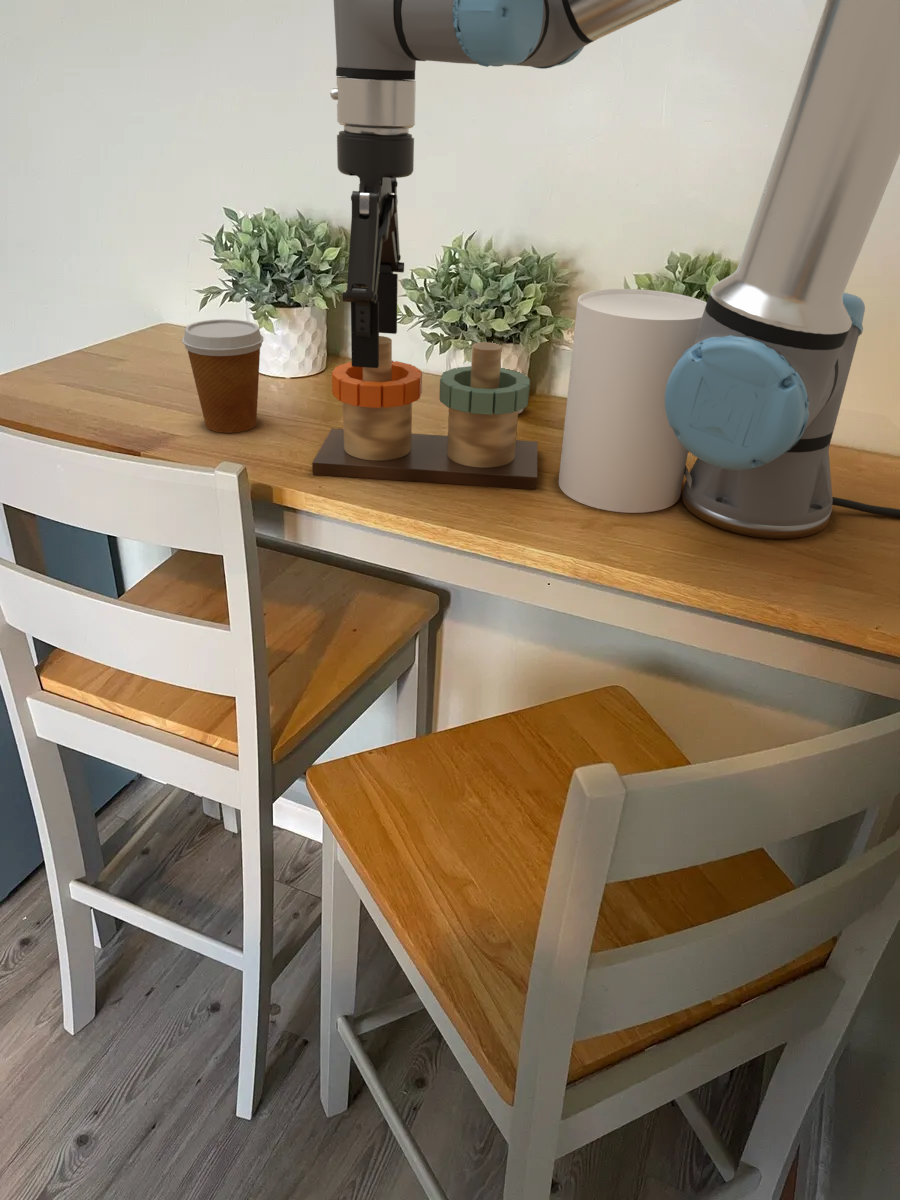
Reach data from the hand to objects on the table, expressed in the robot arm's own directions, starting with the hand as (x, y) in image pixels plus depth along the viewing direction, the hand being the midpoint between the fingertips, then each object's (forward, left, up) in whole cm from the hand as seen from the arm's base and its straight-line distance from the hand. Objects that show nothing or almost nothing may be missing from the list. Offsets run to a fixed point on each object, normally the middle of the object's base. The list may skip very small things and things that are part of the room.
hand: (375, 348), depth 98 cm
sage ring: (-12, 0, -5) cm, 13 cm away
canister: (-28, +3, -13) cm, 31 cm away
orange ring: (0, 0, -5) cm, 5 cm away
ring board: (-6, 0, -13) cm, 14 cm away
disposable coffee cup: (+20, -8, -13) cm, 25 cm away
